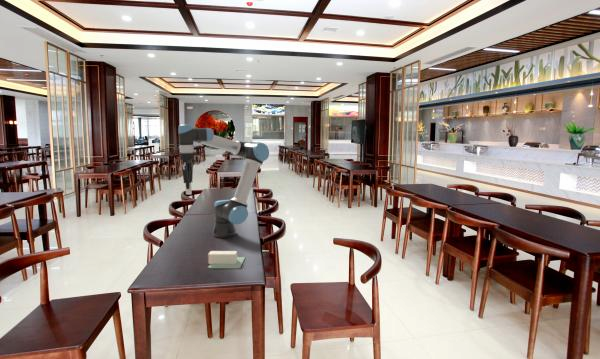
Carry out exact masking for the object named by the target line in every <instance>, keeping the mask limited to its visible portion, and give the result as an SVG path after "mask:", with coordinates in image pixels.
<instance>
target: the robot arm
mask: <svg viewBox="0 0 600 359" xmlns="http://www.w3.org/2000/svg"><path fill="white" fill-rule="evenodd" d="M177 130H178V143H179V144H178V145H179V146H178V149H179V160H180V161H183V162H182V165H181V166H180V167H181V171H182V179H183V184H185V195H190V196H191V195H192V194H193V193H192V183H193V182H194V181H193V175H194V174H193V172H194V171H193V170H194V164H193V163H192V161H193V160H195V154H194V152H195V150H194V148H195V147H194V143H197V144H198V143H199V144H201V145H205V146H208V147H212V148H214V149H218V150H219V149H220V150H222V151H225V152H226V151H227V152H229V153H232V155H234V156H238V157H240V158H243V159H244V161H245V165H244V167H243V171H242V172H241V176H240V178H239V181H238V185H237V187H236V190H235V193H234V195H233V197H232V198H230V199H220V200H216V201H214V207H213V208H214V226H213V230H212V236H213V237H214V238H220V239H221V238H222V239H223V238H230V237H233V236H236V234H237V230H236V227H235V225H240V224H243V223H244V222H245V221H247V218H248V217H249V211H248V203H247V201H248V199H249V197H250V196H249V195H250V193H251V191H252V187H253V186H254V181H255V178H256V176H257V173H258V171H259V168H260V167H261V166H263V163H264V162H265V161H266V160H267V159H269V156H270V149H269V147H268V146H267V144H266V143H264V142H260V141H257V142H253V141H240V140H232V139H228V138H226V137H222V136H218V135H216V134H214V130H213V129H212V128H209V127H203V128H202V127H199V128H195V127H193V124H179V125H178V129H177Z"/></svg>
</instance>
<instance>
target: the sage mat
mask: <svg viewBox="0 0 600 359" xmlns="http://www.w3.org/2000/svg"><path fill="white" fill-rule="evenodd" d="M245 259H246V257H245V256H237V262H236V264H209V265H208V266H207V269H241V267H242V265H243V264H244V262H245Z"/></svg>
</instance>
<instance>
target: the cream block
mask: <svg viewBox="0 0 600 359" xmlns="http://www.w3.org/2000/svg"><path fill="white" fill-rule="evenodd" d="M237 257H238V251H237V250H210V251H209V252H208V254H207V265H208V264H209V265H210V264H236V262H237Z"/></svg>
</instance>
